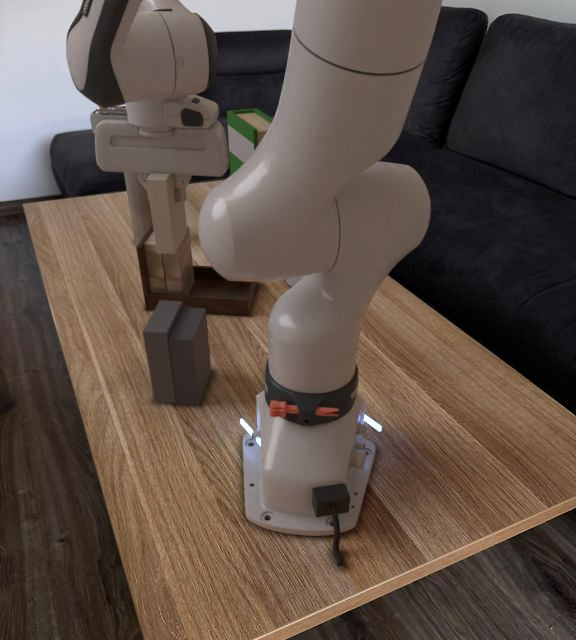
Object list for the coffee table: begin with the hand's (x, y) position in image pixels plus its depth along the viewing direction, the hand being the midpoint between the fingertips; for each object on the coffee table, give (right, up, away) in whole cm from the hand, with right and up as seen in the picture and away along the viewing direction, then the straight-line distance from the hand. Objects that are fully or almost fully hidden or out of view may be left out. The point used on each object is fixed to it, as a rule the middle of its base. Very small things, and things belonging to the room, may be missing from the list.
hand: (167, 200), depth 95 cm
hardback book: (+12, +12, +55) cm, 57 cm away
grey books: (+3, -30, 0) cm, 30 cm away
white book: (0, -6, +4) cm, 7 cm away
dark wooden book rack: (+3, -12, +23) cm, 26 cm away
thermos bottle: (-13, +4, +44) cm, 46 cm away
